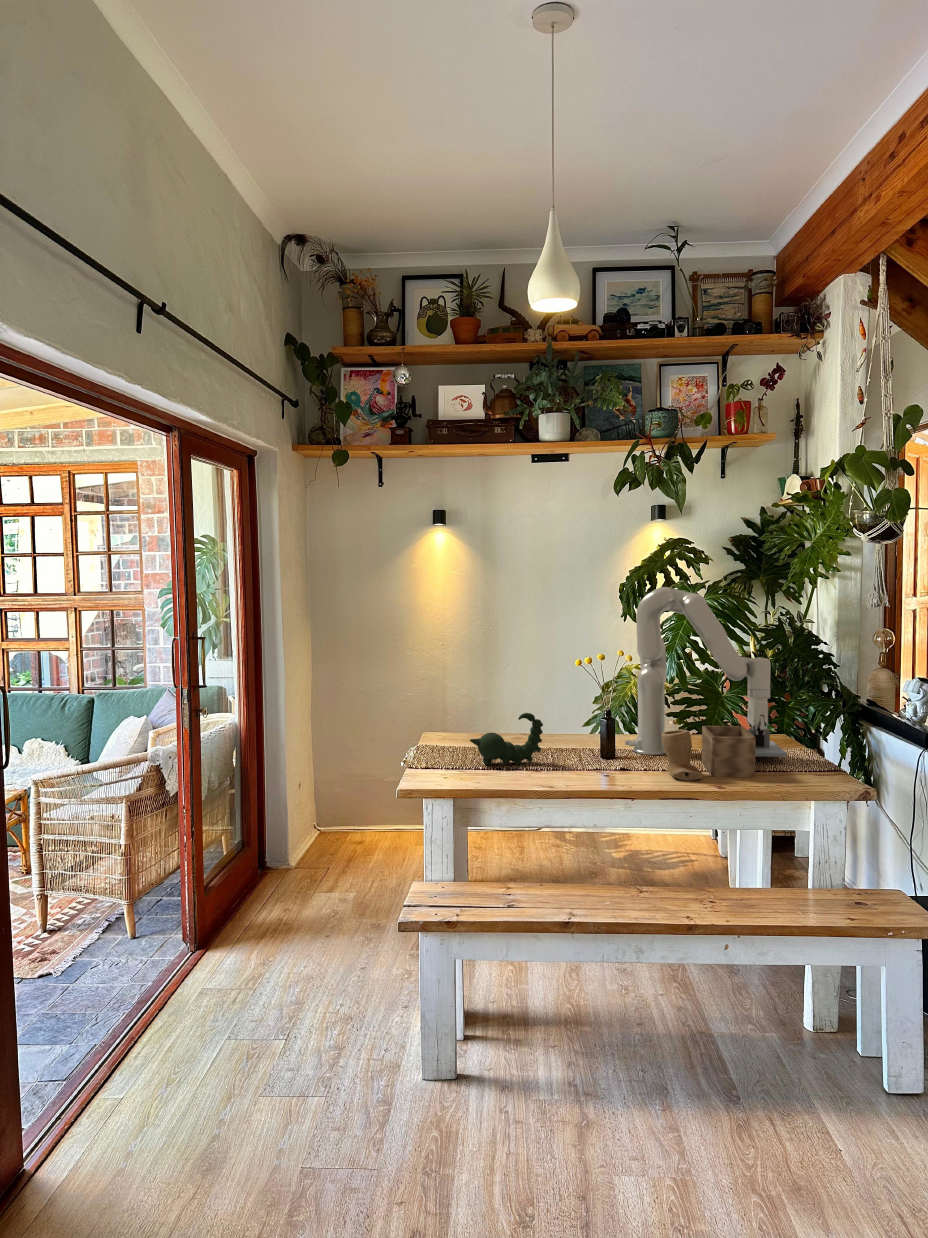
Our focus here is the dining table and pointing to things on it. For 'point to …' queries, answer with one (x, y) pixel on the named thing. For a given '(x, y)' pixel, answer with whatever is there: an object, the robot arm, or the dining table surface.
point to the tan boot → (679, 755)
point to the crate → (728, 751)
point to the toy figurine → (510, 745)
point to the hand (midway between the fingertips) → (758, 744)
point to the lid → (768, 746)
